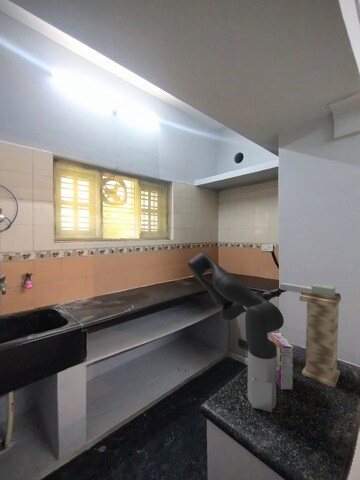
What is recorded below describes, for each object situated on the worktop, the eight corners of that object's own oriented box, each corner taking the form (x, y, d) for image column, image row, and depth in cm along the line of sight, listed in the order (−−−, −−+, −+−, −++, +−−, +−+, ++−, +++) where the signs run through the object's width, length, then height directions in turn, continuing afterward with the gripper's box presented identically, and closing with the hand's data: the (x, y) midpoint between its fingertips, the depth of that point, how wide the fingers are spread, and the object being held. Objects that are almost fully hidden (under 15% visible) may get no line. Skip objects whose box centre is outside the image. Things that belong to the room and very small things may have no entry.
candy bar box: (268, 370, 92) (268, 332, 91) (280, 370, 92) (280, 332, 91) (279, 390, 81) (280, 346, 80) (293, 390, 81) (294, 346, 80)
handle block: (335, 296, 87) (335, 286, 87) (332, 299, 84) (332, 289, 83) (283, 287, 101) (283, 278, 100) (279, 289, 97) (279, 280, 97)
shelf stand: (339, 373, 90) (342, 292, 88) (334, 387, 82) (337, 299, 80) (305, 360, 98) (307, 287, 97) (297, 372, 90) (299, 292, 89)
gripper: (242, 297, 104) (273, 285, 94) (256, 290, 115) (284, 279, 104) (250, 312, 102) (282, 302, 92) (263, 304, 112) (293, 294, 102)
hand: (283, 290), depth 98 cm, fingers open, 8 cm apart
